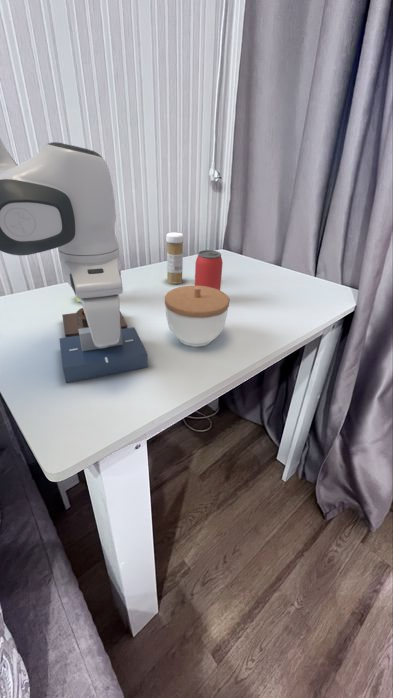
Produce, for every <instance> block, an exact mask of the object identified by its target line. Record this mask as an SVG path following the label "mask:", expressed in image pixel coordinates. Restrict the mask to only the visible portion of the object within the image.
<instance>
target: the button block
mask: <svg viewBox="0 0 393 698" xmlns="http://www.w3.org/2000/svg"><path fill="white" fill-rule="evenodd" d="M61 315H62V323H63V330H64V338H66V337H72V336H79V330H78V329H82V328H89V326H88V323H87V319H86V316H84V312H83V307H81V308H79V309H78V310H77V311H76V312H71V313H66V314H61ZM120 327H121V329H126V328H128V325H127V322H126V321H125V319H124V316H123V313H122V312H121V311H120Z"/></svg>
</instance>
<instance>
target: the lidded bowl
mask: <svg viewBox="0 0 393 698" xmlns="http://www.w3.org/2000/svg"><path fill="white" fill-rule="evenodd" d="M164 295H165V296H164V305H165V306H164V307H165V308H164V309H165V310H164V311H165V318H166V324H167V326H168V328H169V331H170V332H171V333H172V335H173V336H174V337H175V338H176V339H178V341H179V342H180V343H181V344H183V345H184V346H187V347H195V348H197V347H198V348H199V347H200V348H201V347H205V346H207V345H209V344H211V342H212V341H214V340H215V339H216V338H217V337H219V335H221V333H222V332H223V329H224V327H225V325H226V321H227V318H228V312H229V307H230V298H229V296H228V295H227V294H226V293H225V292H223V291H222V290H221V289H220V290H218V289H215V288H211V287H206V286H195V285H183V286H178V287H175V288H172V289H171V290H169V291H167V292H166V293H165V294H164Z"/></svg>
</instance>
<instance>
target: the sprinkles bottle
mask: <svg viewBox="0 0 393 698" xmlns="http://www.w3.org/2000/svg"><path fill="white" fill-rule="evenodd" d="M165 239H166V271H167V273H166V274H167V275H166V276H167V277H166V278H167V279H166V282H167V283H168V284H171V285H179V284H182V283H183V282H184V281H183V280H184V279H183V271H184V270H183V269H184V267H183V265H184V263H183V261H184V255H183V254H184V253H183V252H184V251H183V248H184V233H181V232H175V231H172V232H168V233H166V235H165Z"/></svg>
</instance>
